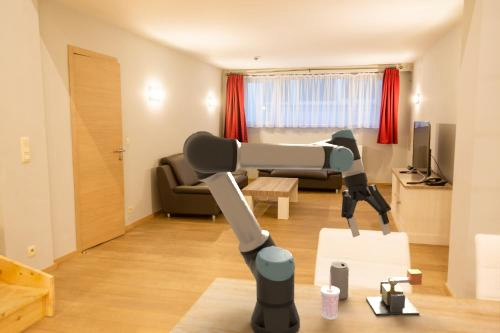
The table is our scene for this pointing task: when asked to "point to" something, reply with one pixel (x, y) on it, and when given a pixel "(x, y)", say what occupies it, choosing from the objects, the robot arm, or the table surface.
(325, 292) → the beverage cup
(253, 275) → the robot arm
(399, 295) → the valve body
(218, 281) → the table surface
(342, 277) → the beverage can
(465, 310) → the table surface
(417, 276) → the valve lever
